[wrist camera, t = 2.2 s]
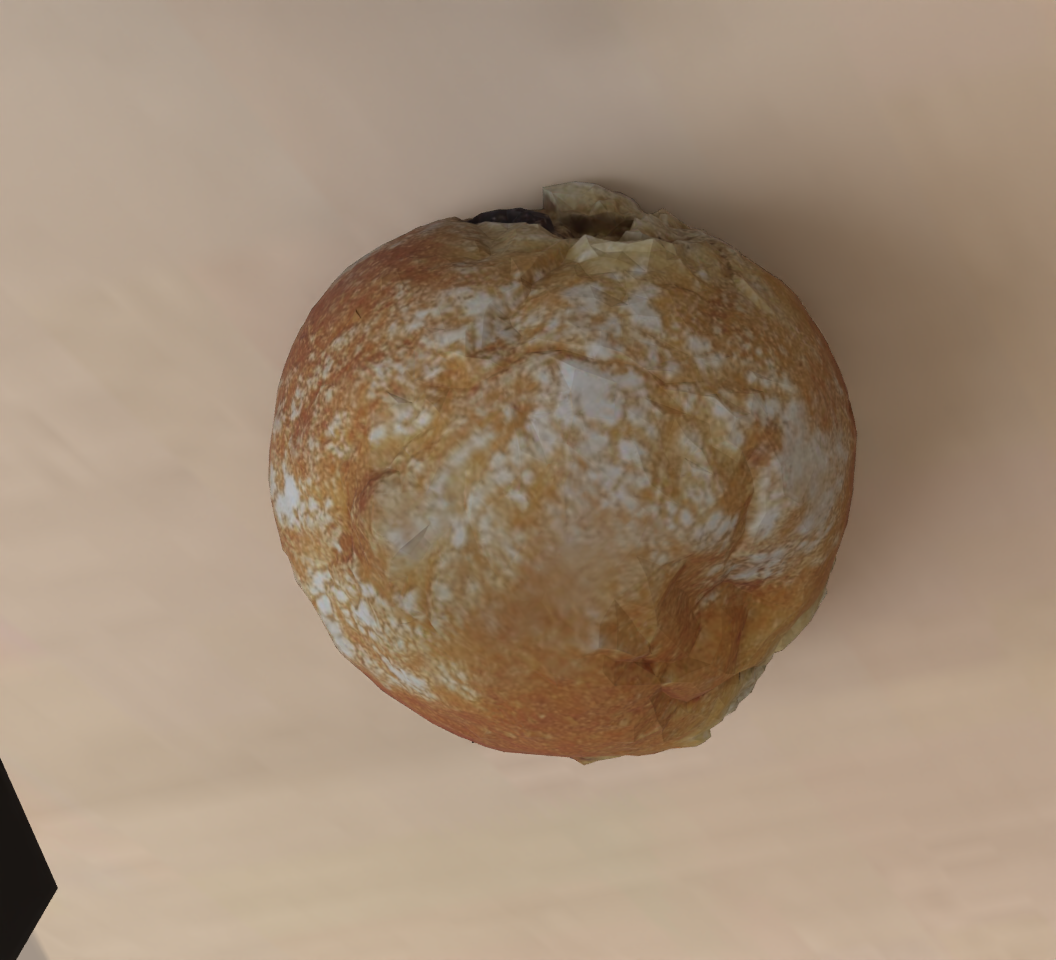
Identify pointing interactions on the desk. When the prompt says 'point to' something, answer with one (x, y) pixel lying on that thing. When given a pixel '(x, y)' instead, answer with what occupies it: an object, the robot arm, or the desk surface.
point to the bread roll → (562, 473)
